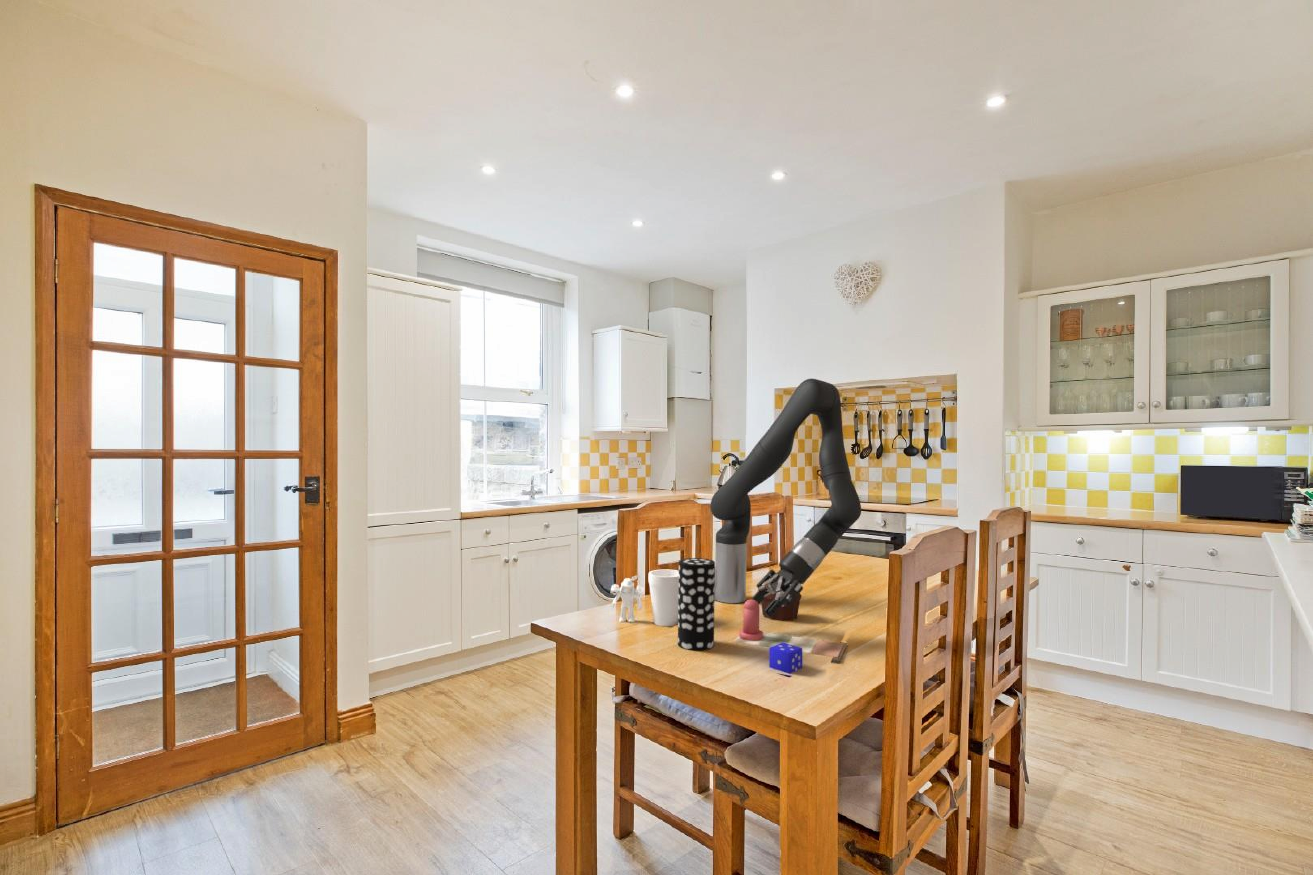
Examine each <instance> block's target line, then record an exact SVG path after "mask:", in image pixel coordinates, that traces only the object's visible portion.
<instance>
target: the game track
mask: <svg viewBox="0 0 1313 875" xmlns="http://www.w3.org/2000/svg"><path fill="white" fill-rule="evenodd" d="M762 632H763V631H762ZM732 641H733V643H739V644H746V645H752V646H760V647H767V648H770V647H773V646H775V645H778V644H780V643H786V644H790V645H793V646H797V647H800V648H802V653H805V654H812V655H820V656H826V657H832V658H831V661H830V663H833V664H840V663H841V660H842V658H843V657H844V653H845V651H846V649H847V647H848V642H842V641H841V642H833V641H825V640H819V639H814V638H813V639H812V638H805V637H800V636H799V637H798V636H792V635H785V634H779V633H770V632H763V639H762V640H758V641H748V640H743V639H741V638H740V637H739V635H738V636H737V637H736V638H735V639H734V640H732Z"/></svg>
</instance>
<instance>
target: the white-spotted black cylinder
mask: <svg viewBox="0 0 1313 875" xmlns="http://www.w3.org/2000/svg"><path fill="white" fill-rule="evenodd" d="M678 571H679V590H678V624H677V646H678V648H681V649H683V650H686V651H690V652H691V651H693V652H702V651H703V652H704V651H708V650H711V649H713V648H714V646H715V600H714V596H715V561H714V560H712V559H709V558H701V557H689V558H682V559H680V560H678Z"/></svg>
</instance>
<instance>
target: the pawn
mask: <svg viewBox="0 0 1313 875" xmlns="http://www.w3.org/2000/svg"><path fill="white" fill-rule="evenodd" d="M743 603H744V604H743V611H742V613H743V615H742V616H743V620H742V622H743V624H742V626H743V627H742V629H740V630H739V631H738V632H739V634H738V636H739V637H740V638H741V639H743V640H748V641H758V640H762V639H764V638H763V631H762V630H761V629H760V604H758V603H757V602H756V601H755V600H752V599H751V598H750V599H748V600H747V599H746V600H745V601H744V602H743Z"/></svg>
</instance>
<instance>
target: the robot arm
mask: <svg viewBox="0 0 1313 875" xmlns="http://www.w3.org/2000/svg"><path fill="white" fill-rule="evenodd" d="M811 415H814V416H816V417H817V418H818V420H819V425H820V428H821V440H820V441H821V442H820V446H819V453H818V463H819V469H820V474H821V477H822V478H821V479H822V482H823V483H822V484H823V485H824V488H825V489H826V490H827V491H828V494H829V498H830V502H831V505H830V507H828V509H827V510H826V512H825V513H823V515H822V516H821V518H820V519H819V520H818V521H817V523H816V522H815V523H814V525H812V527H811V528H810V529H809V530H808V531H807V532H806V533H805V535H804V536H803V537H802V538H801V539H800V540H798V541H797V542H796V543H795V544H794V545H793V547H792V548H791V549H789V551H788V552H787V553H786V555H784V557H783V558H782V559H781V560H780V561H779V563H778V565H779V568H780V569H779V570H778V571H777V572H776V571H775V570H774V569H773V568H771V569H769V571H768V572H767V573H766V574H765V575H764V576H763V577H762V578H761V580H760V581H759V582H758V583H757V584H756V588H757V591H756V593H755V594H754V595H753V596H752V597H751V598H750V599H752V600H755V601H756V602H757V603H758V604H759V605H760V604H761V601H762V600H763V599H764V598H765V596H767V595H769V594H774V593H777V594H776V597H775V600H773V601H772V602H771V603H770V604H769V605H768V607H767V608H766V609H765V610H764V613H765V614H766V615H767V616H768V617H772V616H773V615H774V614H775V613H776V611H777V610H778V609H779V608H780V607H781V606H782V607H783V606H784V605H786V606H787V607H788V606H790V605H791V603H792V602H793V601H794V600H795V598H796V597H797V596H798V595H799V593H800V594H801V592H802V591H803V590H804V587H803V585H804V584H805V583H806V581H808V579H809V578H810V577H811V576H812V574H813V573H815V571H816V570H817V569H818V568H819V566H820V565H821V564H822V562H823V561H824V560H825V558H826V557H827V555H828V554H830V552H831V551H832V550H833V548H834V547H835V546H836V544H837V543H838V540H839V539H841V537H842V536H843V535H844V534H846V532H847V531H848V530H849V529H850V528H851V527H852V526H853V525H854V524H855V523H856V522H857V521H858V520H859V519H860V517H861V515H862V504H861V501H860V500H861V499H860V497H859V494H858V492H857V490H856V489H857V488H856V487H855V485H854V482H853V480H852V475H851V471H850V466H849V463H848V459H847V454H846V448H845V441H844V429H843V416H842V404H841V396H840V391H839V389H838V388H837V386H835V385H834V384H832V383H830V382H827V381H823V380H820V379H817V378H807V379H805V380H803V381H802V382H801V383H799V385H798V386H797V387H796V388H795V389H794V391H793V393H792V394H791V396H790V398H789V399H788V401H787V402H786V405H785V406H784V407H783V409H782V410H781V412H780V413H779V415H778V416H777V418H776V419H775V420H774V421H773V423H772V424H771V425H770V427H769V429H768V430H766V431H765V433H764V434H763V436H761V438H760V439H759V440H758V442H757V443H756V444H755V446H754V447H753V448H752V450H751V451H750V452H749V453H748V454H747V456H746V457H745V459H744V460H743V461H742V462H741V464H740V465H739V466H738V468H737V469H736V471H735V472H734V473H733V474H732V475H731V476H730V477H729V478H728V479H727V480H726V481H725V483H724V484H723V485H721V486H720V487H719V488H718V490H716V491H715V493H714V494H713V495H712V498H711V500H710V512H711V514H712V515H713V517H714V518H715V519H717V520H719V521H720V520H721V521H723V522H724V523H723V525H722V527H720V529H719V530H717V531H716V534H715V596H714V601H718V602H719V603H724V604H738V603H745V602H746V601H747V552H748V551H747V547H748V546H747V540H748V539H747V538H748V536H749V533H750V529H751V513H752V511H751V508H752V507H751V506H752V505H751V504H752V503H751V499H750V497H749V493H751V491H752V490H754V489H755V488H756V487H758V486H759V485H761V484H763V483H764V482H765V481H767V480H768V479H769V478H770V477H772V476H773V475H774V474H776V472H778V471H779V470H780V468H781V467H782V466H783V464H785V462H786V461H787V460H788V459H789V457H790V455H791V454H792V450H793V447H794V441H795V437H796V433H797V432H798V429H799V428H800V426H801V425H802V424H803V423H804V421H805V420H806V419H808V417H809V416H811ZM767 589H768V590H767ZM789 596H791V597H790V599H789ZM787 599H789V600H787Z"/></svg>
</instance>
